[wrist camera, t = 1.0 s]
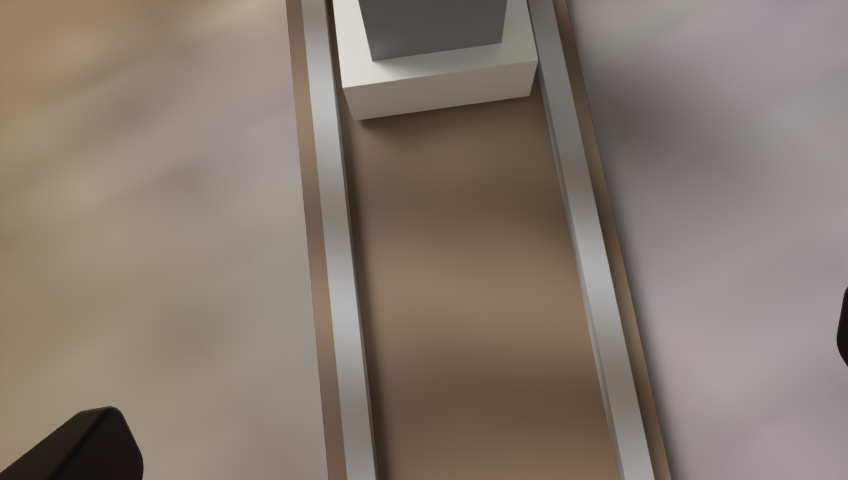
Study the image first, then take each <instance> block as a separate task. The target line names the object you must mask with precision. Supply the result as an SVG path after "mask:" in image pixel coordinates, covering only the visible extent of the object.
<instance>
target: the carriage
mask: <svg viewBox="0 0 848 480" xmlns="http://www.w3.org/2000/svg"><path fill="white" fill-rule="evenodd" d="M333 8H334V17H335V26H336V35H337V44H338V53H339V62H340V71H341V80H342V88H343V91H344V94H345V97H346V100H347V103H348V106H349V109H350V112H351V115H352V117H353V120H354V121H356V120H363V119H370V118H377V117H384V116H391V115H398V114H405V113H413V112H420V111H427V110H434V109H441V108H448V107H455V106H462V105H469V104H476V103H483V102H490V101H497V100H504V99H511V98H519V97H526V96H530V92H531V88H532V83H533V79H534V75H535V71H536V67H537V63H538V56H537V51H536V46H535V41H534V37H533V32H532V27H531V22H530V17H529V12H528V7H527V2H526V0H333Z"/></svg>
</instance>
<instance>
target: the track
mask: <svg viewBox="0 0 848 480" xmlns="http://www.w3.org/2000/svg"><path fill="white" fill-rule="evenodd" d="M526 2H527V7H528V12H529V17H530V22H531V27H532V32H533V37H534V41H535V46H536V51H537V56H538V63H537V67H536V71H535V75H534V79H533V83H532V88H531V92H530V96H526V97H519V98H511V99H504V100H497V101H490V102H483V103H476V104H469V105H462V106H455V107H448V108H441V109H434V110H427V111H420V112H413V113H405V114H398V115H391V116H384V117H377V118H370V119H363V120H356V121H354V120H353V117H352V115H351V112H350V109H349V106H348V103H347V100H346V97H345V94H344V91H343V88H342V80H341V71H340V62H339V53H338V44H337V35H336V26H335V17H334V8H333V0H286V8H287V20H288V31H289V42H290V53H291V65H292V76H293V87H294V98H295V110H296V121H297V132H298V143H299V154H300V166H301V177H302V188H303V199H304V211H305V222H306V233H307V244H308V256H309V267H310V278H311V289H312V300H313V312H314V323H315V334H316V345H317V357H318V368H319V379H320V390H321V402H322V413H323V424H324V435H325V446H326V458H327V469H328V480H671V476H670V471H669V467H668V462H667V458H666V453H665V449H664V444H663V440H662V435H661V430H660V426H659V421H658V417H657V412H656V408H655V403H654V399H653V394H652V390H651V385H650V381H649V376H648V371H647V367H646V362H645V358H644V353H643V349H642V344H641V340H640V335H639V331H638V326H637V322H636V317H635V312H634V308H633V303H632V299H631V294H630V290H629V285H628V281H627V276H626V272H625V267H624V263H623V258H622V253H621V249H620V244H619V240H618V235H617V231H616V226H615V222H614V217H613V213H612V208H611V204H610V199H609V194H608V190H607V185H606V181H605V176H604V172H603V167H602V163H601V158H600V154H599V149H598V145H597V140H596V135H595V131H594V126H593V122H592V117H591V113H590V108H589V104H588V99H587V95H586V90H585V86H584V81H583V76H582V72H581V67H580V63H579V58H578V54H577V49H576V45H575V40H574V36H573V31H572V27H571V22H570V18H569V13H568V8H567V4H566V0H526Z"/></svg>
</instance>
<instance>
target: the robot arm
mask: <svg viewBox="0 0 848 480" xmlns="http://www.w3.org/2000/svg"><path fill="white" fill-rule="evenodd" d="M837 346H838V350H839V352H840V355H841V357H842V359H843V360H844V362H845V363H846V365H847V366H848V287H847V289H846V290H845V293H844V298H843V303H842V309H841V314H840V320H839V325H838V331H837ZM143 468H144V466H143V458H142V455H141V452H140V450H139V448H138V446H137V443H136V441H135V439H134V437H133V435H132V433H131V431H130V429H129V427H128V425H127V423H126V420H125V418H124V416H123V415H122V413H121V411H119V410H118V409H117V408H115V407H112V406H108V407H102V408H96V409H90V410H85V411H81V412H79V413H77V414H76V415H74V416H73V417H72V418H71V419H69V420H68V421H67V422H65V423H64V424H63V425H62V426H60V427H59V428H58V429H56V430H55V431H54V432H52V433H51V434H50V435H49V436H47V437H46V438H45V439H43V440H42V441H41V442H40V443H38V444H37V445H36V446H34V447H33V448H32V449H31V450H29V451H28V452H27V453H25V454H24V455H23V456H21V457H20V458H19V459H18V460H16V461H15V462H14V463H12V464H11V465H10V466H9V467H7V468H6V469H5V470H3V471H2V472H1V473H0V480H142V478H143Z"/></svg>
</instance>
